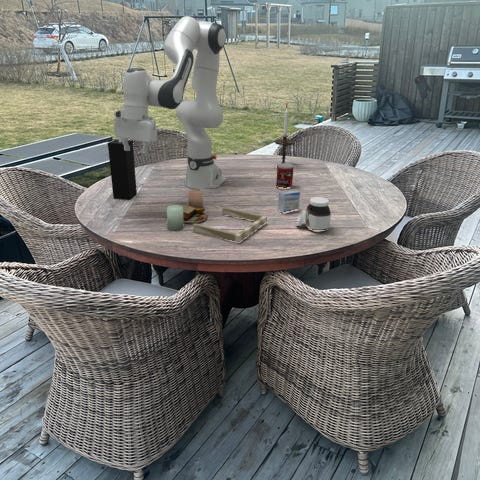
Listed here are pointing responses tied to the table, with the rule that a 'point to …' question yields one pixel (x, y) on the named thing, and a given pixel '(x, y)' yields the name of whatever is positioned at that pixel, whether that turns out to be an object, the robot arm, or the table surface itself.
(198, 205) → the peach rounded cylinder
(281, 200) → the medicine box
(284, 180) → the canned food
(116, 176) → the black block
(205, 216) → the toy sandwich meal
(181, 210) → the sage green rounded piece
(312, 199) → the spread jar
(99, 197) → the table surface
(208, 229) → the frame
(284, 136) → the candlestick
